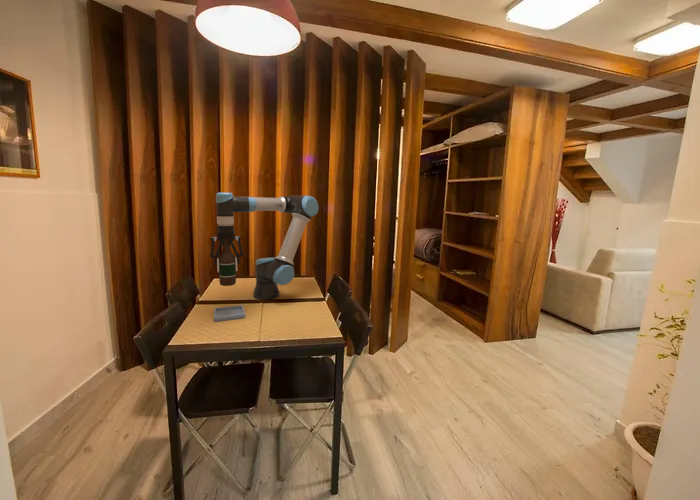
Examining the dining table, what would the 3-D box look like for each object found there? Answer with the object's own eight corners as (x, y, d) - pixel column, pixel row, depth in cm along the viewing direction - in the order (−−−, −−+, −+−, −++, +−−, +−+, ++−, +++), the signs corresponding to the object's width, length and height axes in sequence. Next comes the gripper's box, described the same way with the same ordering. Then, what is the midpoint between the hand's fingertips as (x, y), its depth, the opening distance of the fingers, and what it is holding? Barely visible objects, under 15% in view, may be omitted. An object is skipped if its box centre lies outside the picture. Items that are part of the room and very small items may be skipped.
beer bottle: (230, 286, 151) (228, 237, 146) (216, 285, 152) (213, 236, 148) (239, 282, 158) (237, 235, 154) (225, 281, 160) (223, 234, 156)
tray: (242, 308, 167) (242, 304, 167) (245, 318, 154) (245, 314, 154) (214, 311, 162) (214, 307, 161) (214, 321, 149) (214, 317, 149)
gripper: (247, 224, 157) (248, 267, 161) (202, 224, 149) (204, 270, 153) (248, 225, 151) (249, 271, 155) (201, 226, 143) (204, 274, 147)
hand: (227, 270), depth 154 cm, fingers closed on beer bottle, 8 cm apart
